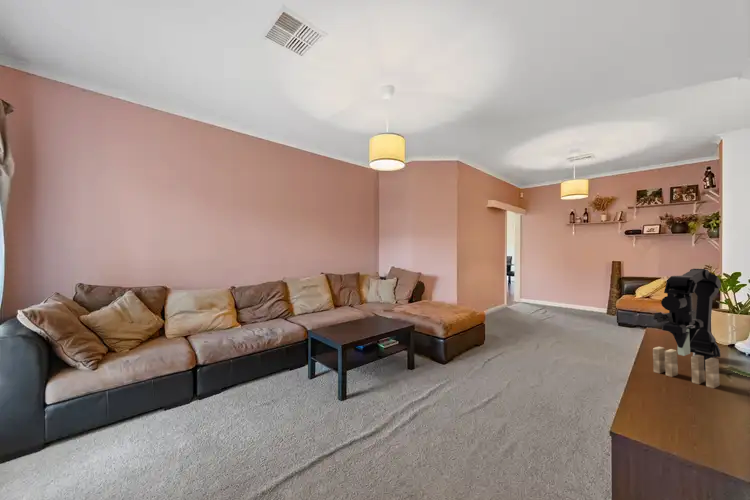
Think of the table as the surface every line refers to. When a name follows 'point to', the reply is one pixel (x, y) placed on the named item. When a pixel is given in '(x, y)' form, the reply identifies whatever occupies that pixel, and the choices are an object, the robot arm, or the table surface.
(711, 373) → the domino
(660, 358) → the domino
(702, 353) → the robot arm
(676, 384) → the table surface
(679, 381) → the table surface
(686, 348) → the domino
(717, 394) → the table surface
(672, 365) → the domino
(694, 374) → the domino
